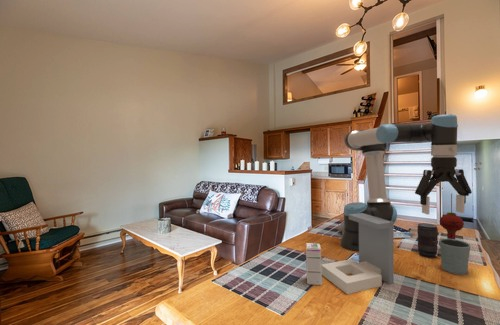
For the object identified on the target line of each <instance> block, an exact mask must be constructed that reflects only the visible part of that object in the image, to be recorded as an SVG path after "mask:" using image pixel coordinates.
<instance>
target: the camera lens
mask: <svg viewBox="0 0 500 325" xmlns="http://www.w3.org/2000/svg"><path fill="white" fill-rule="evenodd" d="M416 228H417V251H418V253H419V255H420V256H421V257H425V258H428V259H429V258H430V259H435V258H436V257H437V254H438V248H439V247H438V244H439V240H438V236H439V235H438V234H439V233H438V232H439V229H438V225H436V224H432V223H423V222H422V223H418V224H417V227H416Z"/></svg>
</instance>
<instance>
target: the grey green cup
mask: <svg viewBox="0 0 500 325" xmlns="http://www.w3.org/2000/svg"><path fill="white" fill-rule="evenodd" d="M438 243H439V248H440V264H441V269H443V271H445V272H447V273H450V274H454V275H460V276H461V275H462V276H465V275H467V274H469V273H468V272H469V271H468V270H469V260H470V254H471V253H470V251H471V244H470V243H468V242H467V241H463V240H460V239H456V238H455V239H447V238H441V239H439V240H438Z"/></svg>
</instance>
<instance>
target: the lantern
mask: <svg viewBox="0 0 500 325" xmlns="http://www.w3.org/2000/svg"><path fill="white" fill-rule="evenodd" d="M450 196H451V197H450V202H451V204H450V206H451V207H450V212H447V213H446V214H444V215H442V216H441V217H440V220H439V224H440V226H441V228H443V229H445V230H446V233H447V236H446V237H447V238H446V239H455V240H456V234H457V232H458V231H459V232H460V231H461V230H462V229H464V221H463V219H462V218H461V217H460V216H458V215H457V212H456V213H455V212H453V207H452V206H453V204H452V203H453V193H450Z"/></svg>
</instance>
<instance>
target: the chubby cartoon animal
mask: <svg viewBox="0 0 500 325" xmlns="http://www.w3.org/2000/svg"><path fill="white" fill-rule="evenodd" d="M338 233H341V234H342V236H343V233H344V221H342V222H341V223H340V224H338Z"/></svg>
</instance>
